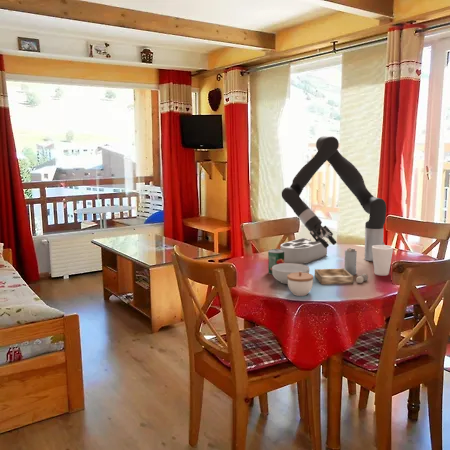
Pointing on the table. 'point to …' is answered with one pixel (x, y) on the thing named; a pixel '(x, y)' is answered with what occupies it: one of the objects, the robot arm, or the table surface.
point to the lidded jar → (300, 283)
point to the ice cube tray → (303, 251)
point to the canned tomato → (275, 258)
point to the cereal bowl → (287, 271)
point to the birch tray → (333, 276)
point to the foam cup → (382, 259)
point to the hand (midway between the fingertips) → (331, 245)
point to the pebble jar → (350, 261)
